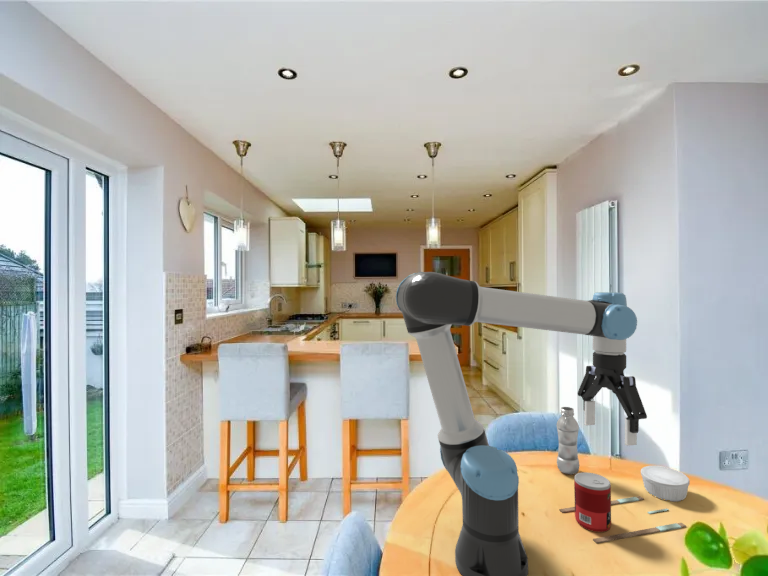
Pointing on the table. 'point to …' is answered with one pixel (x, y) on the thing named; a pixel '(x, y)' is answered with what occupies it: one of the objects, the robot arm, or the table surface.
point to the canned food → (592, 501)
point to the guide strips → (634, 533)
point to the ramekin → (665, 482)
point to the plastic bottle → (567, 442)
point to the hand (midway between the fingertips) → (608, 434)
